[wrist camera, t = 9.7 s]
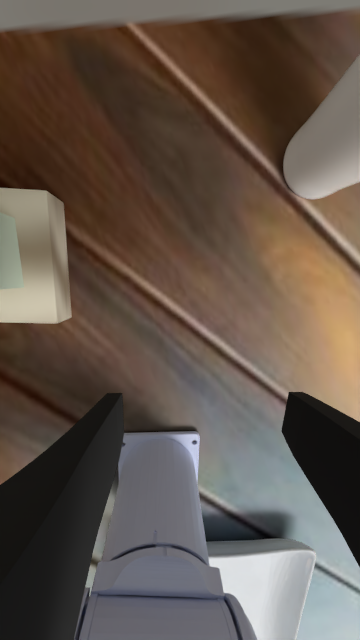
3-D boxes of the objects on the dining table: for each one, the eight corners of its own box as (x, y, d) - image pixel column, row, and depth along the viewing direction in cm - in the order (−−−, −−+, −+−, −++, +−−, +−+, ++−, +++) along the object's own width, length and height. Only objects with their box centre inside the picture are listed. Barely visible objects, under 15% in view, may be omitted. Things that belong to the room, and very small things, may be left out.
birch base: (74, 316, 19) (57, 323, 16) (-35, 313, 18) (-74, 320, 15) (67, 205, 17) (46, 190, 14) (-55, 198, 16) (-103, 181, 13)
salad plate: (120, 522, 24) (112, 563, 20) (301, 516, 25) (322, 554, 22) (120, 647, 28) (114, 698, 25) (274, 635, 30) (288, 681, 26)
